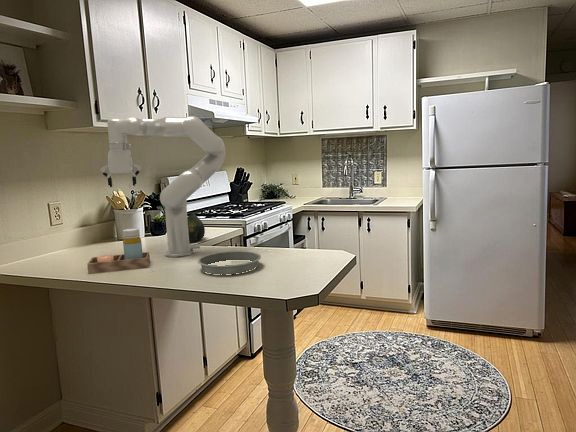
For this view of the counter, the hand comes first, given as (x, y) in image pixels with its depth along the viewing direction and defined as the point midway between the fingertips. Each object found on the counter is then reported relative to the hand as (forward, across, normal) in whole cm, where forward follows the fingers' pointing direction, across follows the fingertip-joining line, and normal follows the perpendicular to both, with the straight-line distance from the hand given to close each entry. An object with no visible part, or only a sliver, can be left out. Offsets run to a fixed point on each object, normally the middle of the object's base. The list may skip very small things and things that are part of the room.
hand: (122, 186), depth 197 cm
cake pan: (+33, -41, +39) cm, 65 cm away
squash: (+32, -29, -25) cm, 50 cm away
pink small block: (+31, +7, +22) cm, 39 cm away
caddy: (+32, +2, +22) cm, 39 cm away
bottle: (+32, -4, +22) cm, 39 cm away
